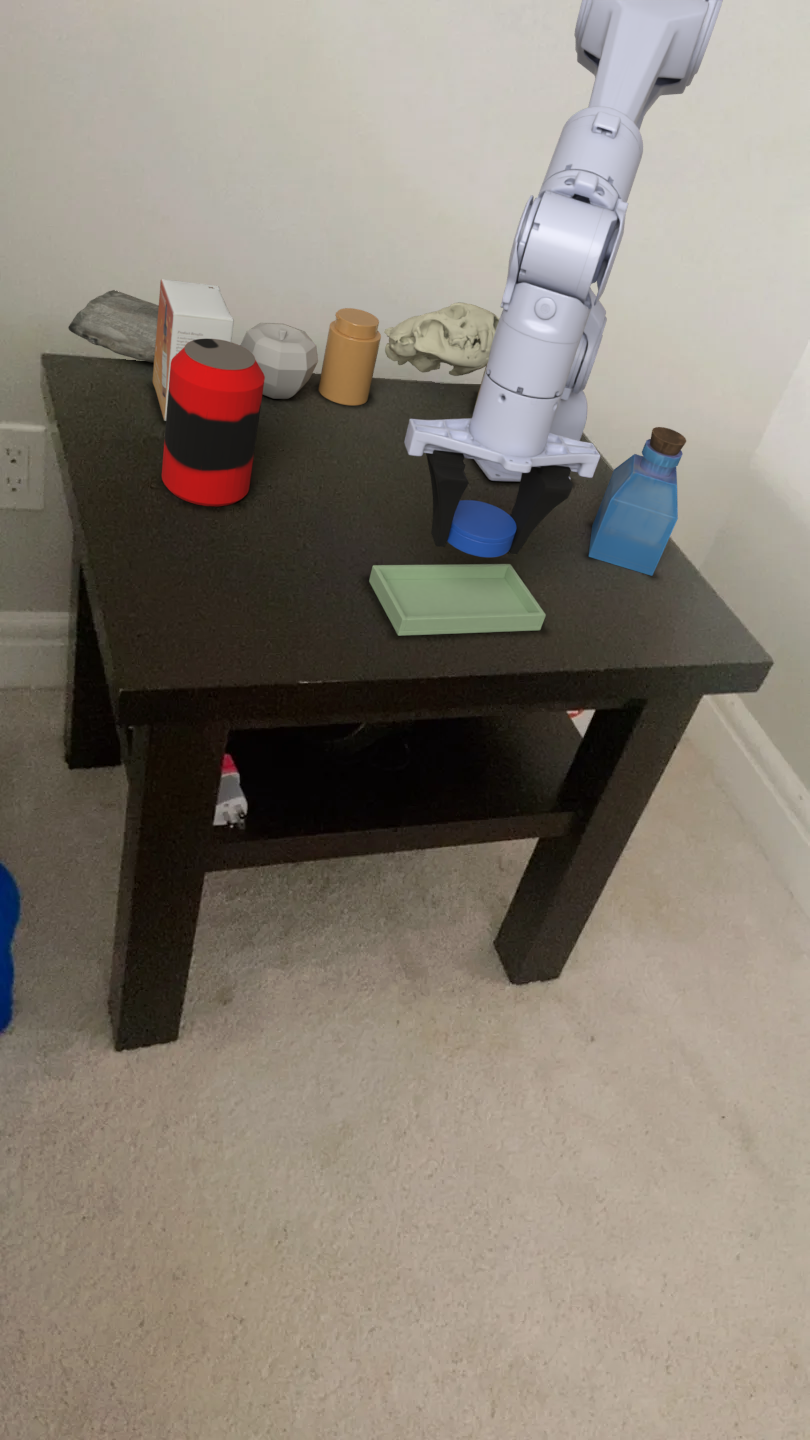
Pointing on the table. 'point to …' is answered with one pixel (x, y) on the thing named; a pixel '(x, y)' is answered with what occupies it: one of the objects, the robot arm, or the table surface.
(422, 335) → the animal skull
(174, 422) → the soda can
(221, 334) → the small box
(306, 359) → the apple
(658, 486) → the perfume bottle
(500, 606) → the tray
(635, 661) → the table surface
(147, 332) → the stone
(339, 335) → the jar
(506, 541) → the lid
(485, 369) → the rubik's cube
